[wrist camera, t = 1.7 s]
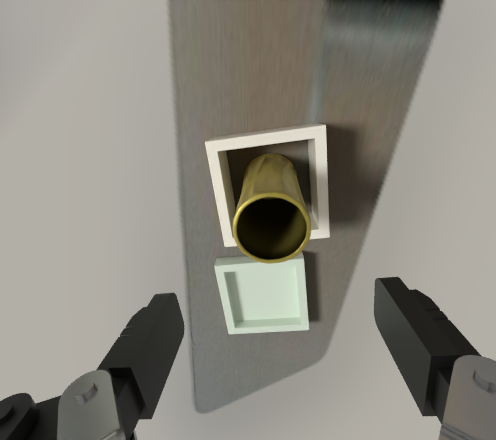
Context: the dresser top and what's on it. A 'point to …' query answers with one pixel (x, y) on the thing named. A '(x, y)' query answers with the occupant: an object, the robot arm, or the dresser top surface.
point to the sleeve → (294, 133)
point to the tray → (262, 294)
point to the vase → (271, 211)
